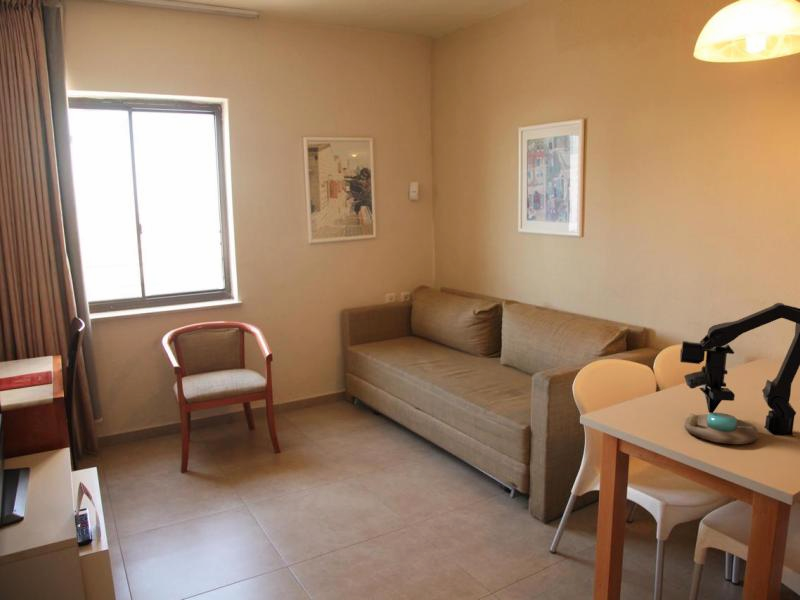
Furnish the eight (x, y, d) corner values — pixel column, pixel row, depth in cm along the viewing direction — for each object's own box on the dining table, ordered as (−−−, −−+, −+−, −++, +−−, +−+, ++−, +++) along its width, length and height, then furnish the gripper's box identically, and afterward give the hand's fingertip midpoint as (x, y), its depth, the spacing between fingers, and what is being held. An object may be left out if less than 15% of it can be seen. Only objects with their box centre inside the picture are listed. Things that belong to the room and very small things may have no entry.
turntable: (742, 420, 201) (743, 407, 200) (769, 446, 182) (770, 431, 181) (676, 417, 204) (677, 404, 203) (695, 441, 184) (697, 427, 184)
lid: (730, 422, 196) (731, 413, 195) (740, 432, 188) (741, 422, 187) (703, 421, 197) (703, 412, 196) (712, 431, 189) (713, 421, 188)
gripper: (679, 356, 208) (675, 401, 211) (698, 373, 190) (694, 422, 193) (714, 357, 207) (710, 403, 210) (737, 374, 189) (732, 423, 192)
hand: (710, 412), depth 201 cm, fingers closed
